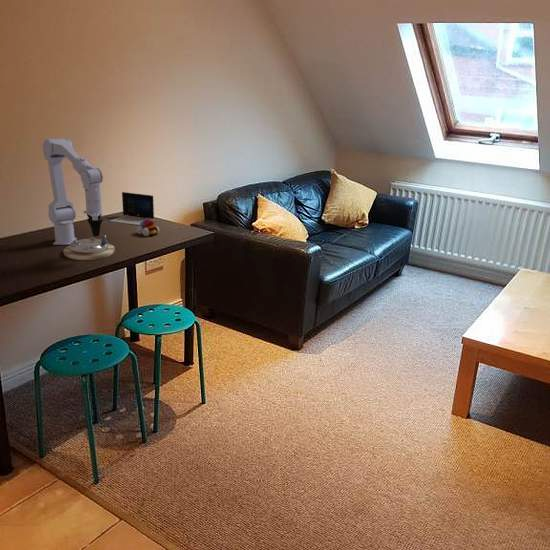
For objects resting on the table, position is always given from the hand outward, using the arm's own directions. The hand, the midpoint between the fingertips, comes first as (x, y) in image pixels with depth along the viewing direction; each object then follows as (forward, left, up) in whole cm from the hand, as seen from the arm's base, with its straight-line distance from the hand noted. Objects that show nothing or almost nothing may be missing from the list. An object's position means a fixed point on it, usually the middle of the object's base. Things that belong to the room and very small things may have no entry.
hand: (95, 233), depth 219 cm
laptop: (-57, +7, -10) cm, 58 cm away
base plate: (-5, -4, -10) cm, 11 cm away
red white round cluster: (-33, +17, -10) cm, 38 cm away
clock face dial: (-5, -4, -8) cm, 10 cm away
